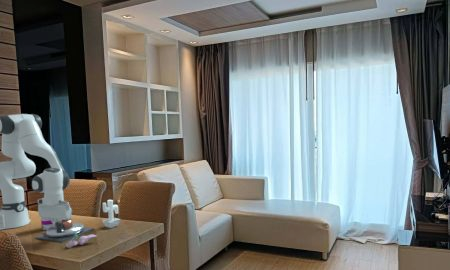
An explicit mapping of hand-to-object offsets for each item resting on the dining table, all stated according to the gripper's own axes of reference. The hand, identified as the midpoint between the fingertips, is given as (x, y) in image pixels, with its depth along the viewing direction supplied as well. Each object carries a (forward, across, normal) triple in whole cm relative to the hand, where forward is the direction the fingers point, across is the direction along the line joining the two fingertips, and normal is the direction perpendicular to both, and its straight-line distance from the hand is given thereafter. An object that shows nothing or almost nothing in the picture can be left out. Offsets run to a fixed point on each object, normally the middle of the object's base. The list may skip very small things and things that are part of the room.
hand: (55, 226), depth 169 cm
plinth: (+6, +1, -7) cm, 9 cm away
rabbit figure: (+6, -21, +3) cm, 22 cm away
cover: (+3, +1, -7) cm, 7 cm away
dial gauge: (+5, +8, -15) cm, 18 cm away
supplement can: (+7, +20, -12) cm, 25 cm away
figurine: (+6, -14, -25) cm, 29 cm away
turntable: (+5, +1, -7) cm, 9 cm away
